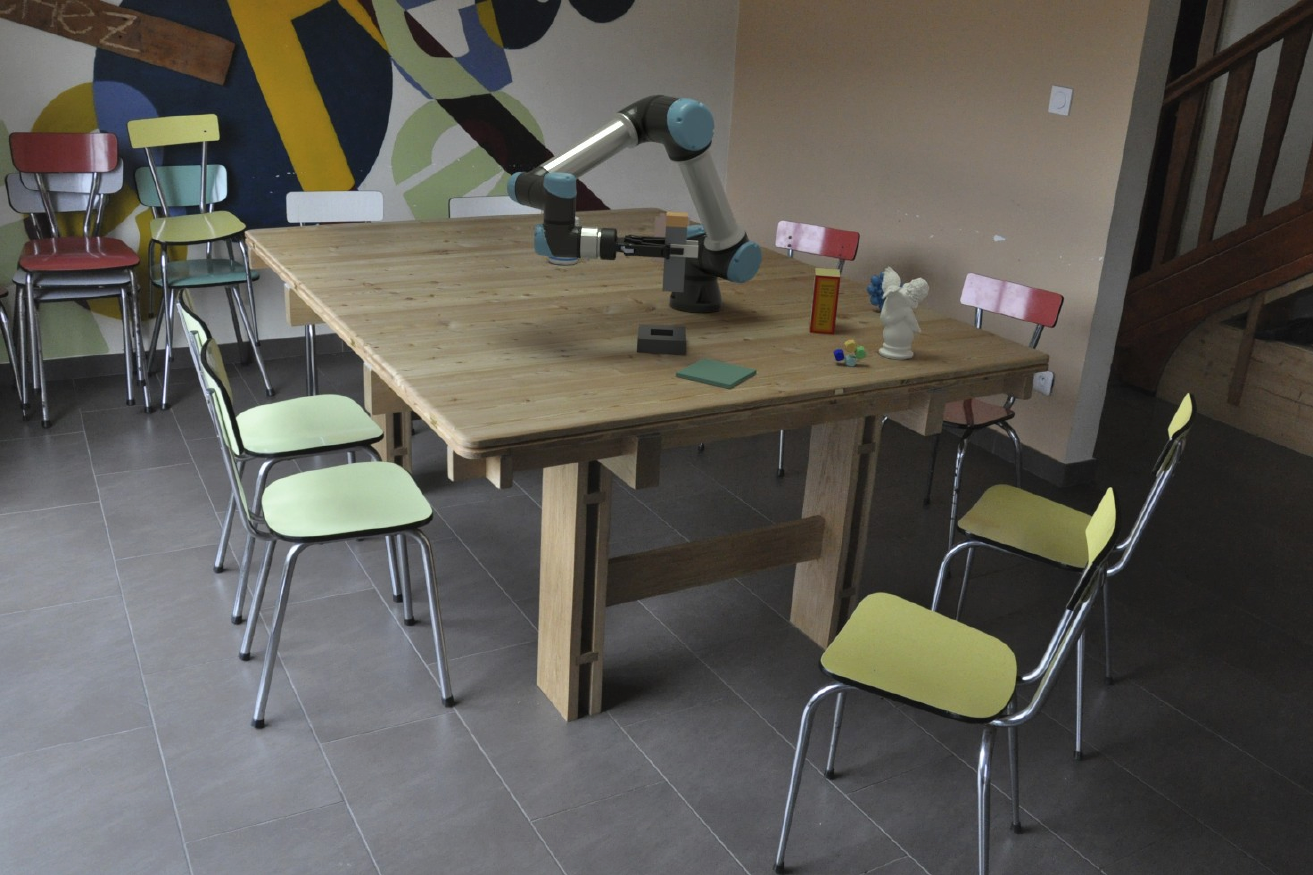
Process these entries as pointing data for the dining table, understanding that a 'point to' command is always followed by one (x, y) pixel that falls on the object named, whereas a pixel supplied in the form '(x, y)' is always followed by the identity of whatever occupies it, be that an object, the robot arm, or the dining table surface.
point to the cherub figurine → (900, 314)
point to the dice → (850, 347)
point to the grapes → (877, 290)
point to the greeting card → (661, 230)
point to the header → (661, 339)
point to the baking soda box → (824, 300)
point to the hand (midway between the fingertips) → (697, 249)
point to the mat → (716, 373)
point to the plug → (675, 265)
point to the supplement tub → (562, 259)
